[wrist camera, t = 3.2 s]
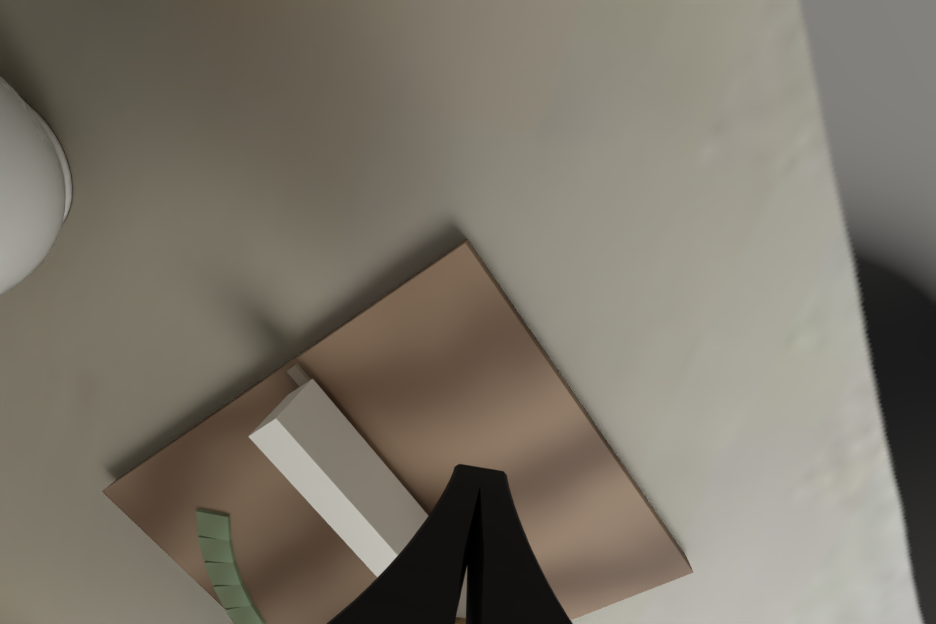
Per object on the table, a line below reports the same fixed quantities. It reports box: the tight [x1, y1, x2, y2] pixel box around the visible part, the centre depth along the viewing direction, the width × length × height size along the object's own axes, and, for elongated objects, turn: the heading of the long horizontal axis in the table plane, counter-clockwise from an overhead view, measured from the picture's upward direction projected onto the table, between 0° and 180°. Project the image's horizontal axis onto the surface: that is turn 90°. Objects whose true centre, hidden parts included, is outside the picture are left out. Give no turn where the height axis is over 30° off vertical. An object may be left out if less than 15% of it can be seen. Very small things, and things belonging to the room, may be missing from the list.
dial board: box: [102, 239, 693, 624], centre depth 22 cm, size 18×22×1 cm
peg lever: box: [248, 379, 467, 624], centre depth 18 cm, size 14×4×4 cm, turn 35°
